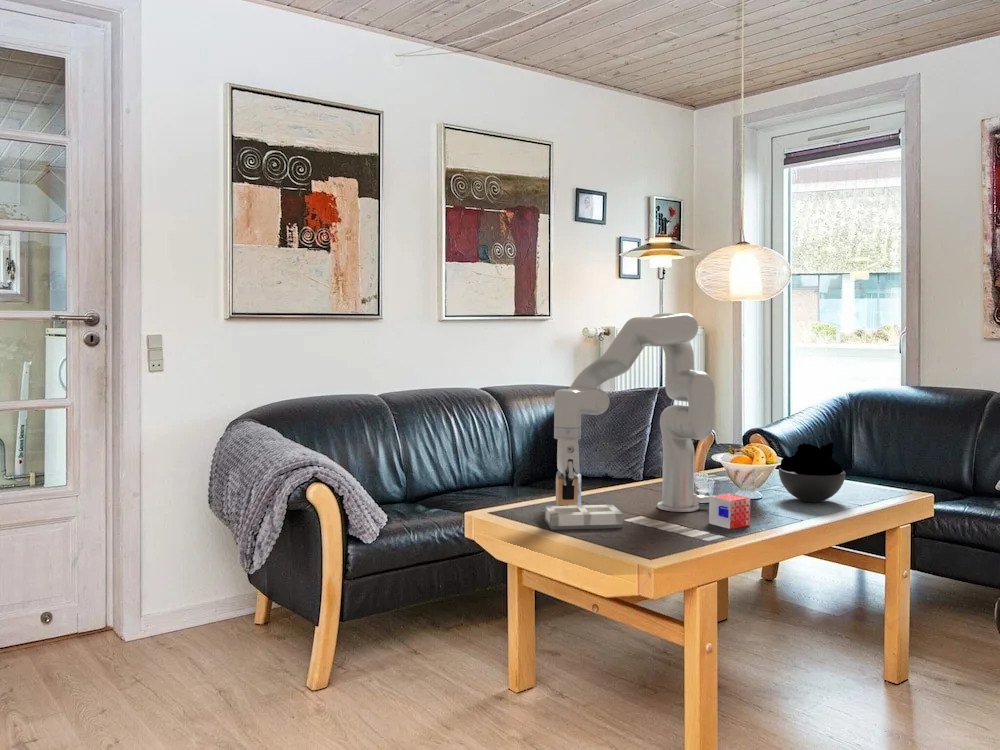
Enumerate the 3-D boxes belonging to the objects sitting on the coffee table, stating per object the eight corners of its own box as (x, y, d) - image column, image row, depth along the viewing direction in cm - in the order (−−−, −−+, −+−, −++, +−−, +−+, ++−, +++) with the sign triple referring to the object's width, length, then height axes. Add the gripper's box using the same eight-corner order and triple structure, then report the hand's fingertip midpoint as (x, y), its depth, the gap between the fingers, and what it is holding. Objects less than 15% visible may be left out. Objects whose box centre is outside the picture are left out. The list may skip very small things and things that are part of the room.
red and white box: (749, 525, 245) (750, 497, 245) (730, 529, 241) (730, 500, 240) (728, 520, 252) (728, 493, 251) (708, 523, 248) (709, 496, 247)
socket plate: (612, 518, 254) (612, 504, 254) (622, 527, 242) (622, 513, 242) (544, 519, 252) (544, 506, 252) (551, 529, 240) (551, 515, 240)
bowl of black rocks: (781, 506, 270) (782, 446, 268) (775, 494, 289) (776, 437, 288) (849, 509, 265) (851, 448, 264) (839, 496, 285) (840, 439, 283)
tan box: (574, 501, 248) (575, 473, 248) (577, 504, 244) (577, 476, 244) (555, 501, 248) (556, 474, 247) (558, 504, 244) (558, 476, 243)
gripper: (586, 437, 237) (585, 503, 238) (575, 429, 254) (574, 491, 255) (559, 437, 236) (558, 504, 237) (549, 429, 253) (548, 492, 254)
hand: (566, 497), depth 246 cm, fingers closed on tan box, 4 cm apart
